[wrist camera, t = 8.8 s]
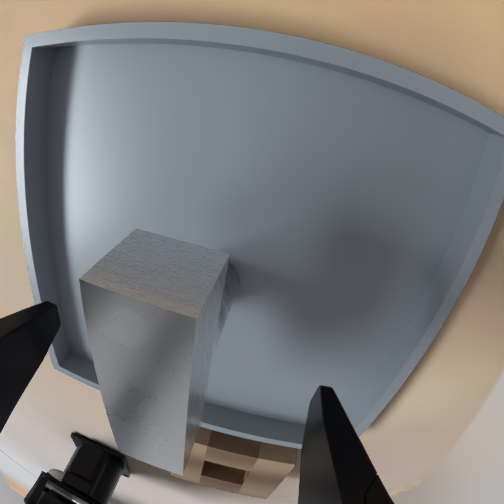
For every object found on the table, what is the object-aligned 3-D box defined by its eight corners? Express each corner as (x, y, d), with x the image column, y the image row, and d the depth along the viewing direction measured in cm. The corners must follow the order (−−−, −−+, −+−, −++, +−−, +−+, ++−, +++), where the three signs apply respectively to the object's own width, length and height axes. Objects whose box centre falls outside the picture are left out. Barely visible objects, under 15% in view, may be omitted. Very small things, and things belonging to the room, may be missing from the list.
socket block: (270, 474, 23) (266, 498, 20) (178, 452, 23) (170, 475, 21) (298, 433, 19) (295, 464, 17) (181, 405, 19) (169, 434, 17)
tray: (342, 429, 18) (343, 454, 16) (68, 349, 19) (54, 368, 17) (497, 123, 9) (524, 130, 7) (55, 37, 10) (25, 35, 8)
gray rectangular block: (226, 351, 15) (182, 476, 9) (178, 336, 16) (119, 452, 9) (259, 196, 12) (196, 319, 5) (194, 181, 12) (78, 278, 6)
